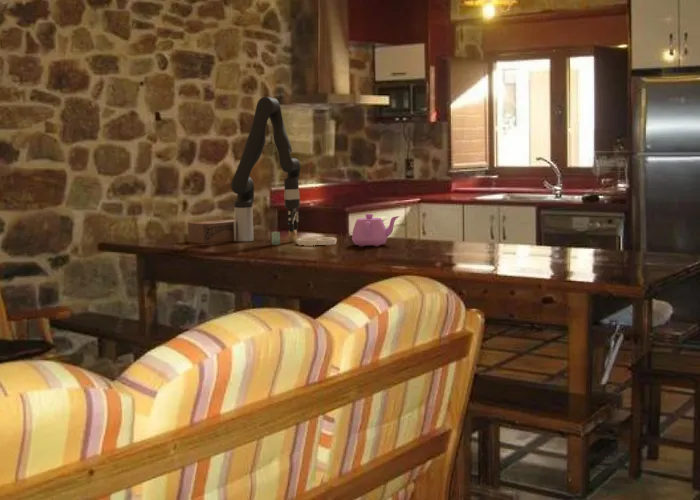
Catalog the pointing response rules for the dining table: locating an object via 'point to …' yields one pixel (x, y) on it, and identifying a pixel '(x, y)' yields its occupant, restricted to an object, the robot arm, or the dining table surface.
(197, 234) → the tissue box cover
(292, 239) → the bead oak
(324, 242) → the tray
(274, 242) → the bead teal
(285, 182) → the robot arm
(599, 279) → the dining table surface
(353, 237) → the teapot
